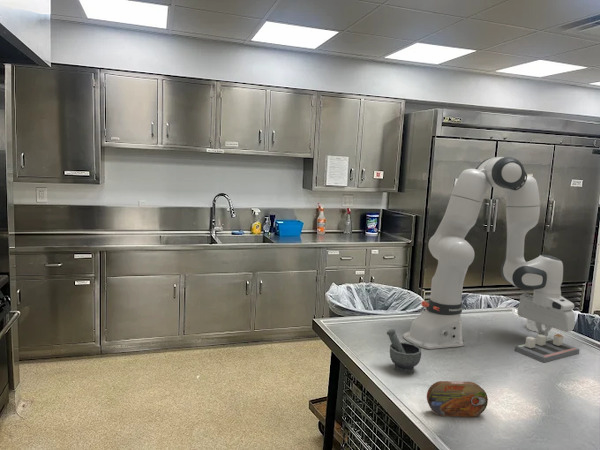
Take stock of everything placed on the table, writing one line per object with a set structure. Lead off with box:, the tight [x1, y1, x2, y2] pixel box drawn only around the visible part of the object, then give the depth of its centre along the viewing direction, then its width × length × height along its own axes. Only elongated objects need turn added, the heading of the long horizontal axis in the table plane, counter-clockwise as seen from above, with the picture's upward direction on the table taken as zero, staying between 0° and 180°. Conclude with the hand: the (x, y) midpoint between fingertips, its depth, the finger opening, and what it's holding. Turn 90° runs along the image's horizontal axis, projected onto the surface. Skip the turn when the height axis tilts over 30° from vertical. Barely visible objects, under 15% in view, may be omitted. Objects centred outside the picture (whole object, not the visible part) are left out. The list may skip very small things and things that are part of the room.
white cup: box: [525, 319, 546, 333], centre depth 183 cm, size 8×8×10 cm
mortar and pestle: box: [386, 328, 422, 375], centre depth 140 cm, size 11×9×12 cm
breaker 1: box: [524, 336, 537, 348], centre depth 159 cm, size 2×2×3 cm
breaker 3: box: [553, 333, 564, 346], centre depth 162 cm, size 2×2×4 cm
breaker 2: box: [535, 334, 547, 346], centre depth 162 cm, size 2×2×3 cm
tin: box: [426, 380, 489, 418], centre depth 115 cm, size 15×3×8 cm, turn 90°
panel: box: [514, 338, 580, 363], centre depth 160 cm, size 20×11×2 cm, turn 119°
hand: (542, 335), depth 168 cm, fingers closed
